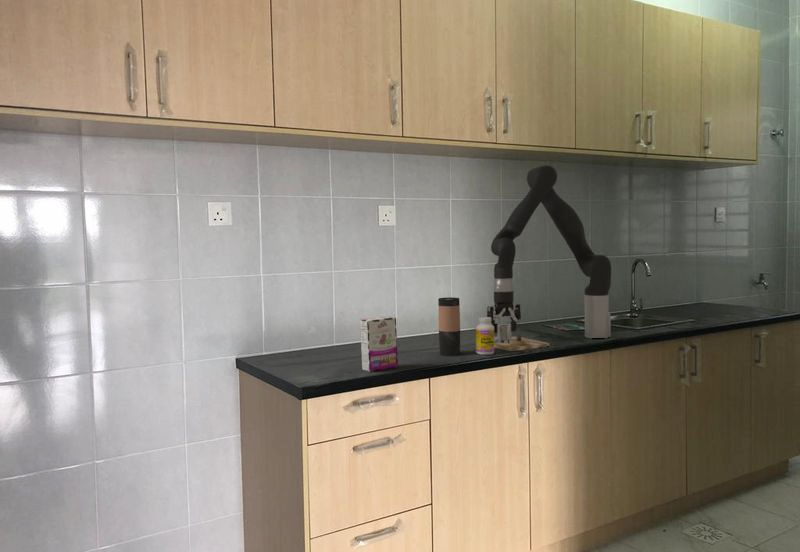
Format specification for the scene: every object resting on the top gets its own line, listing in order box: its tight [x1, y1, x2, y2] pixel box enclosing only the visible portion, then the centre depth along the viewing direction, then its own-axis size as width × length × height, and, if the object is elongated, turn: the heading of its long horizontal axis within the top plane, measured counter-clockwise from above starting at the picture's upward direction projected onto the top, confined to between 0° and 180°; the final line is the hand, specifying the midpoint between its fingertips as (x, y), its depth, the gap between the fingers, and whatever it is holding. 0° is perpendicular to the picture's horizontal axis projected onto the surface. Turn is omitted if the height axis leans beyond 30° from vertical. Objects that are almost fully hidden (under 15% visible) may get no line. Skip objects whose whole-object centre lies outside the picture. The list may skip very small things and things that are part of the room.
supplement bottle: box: [474, 316, 495, 356], centre depth 227 cm, size 7×7×13 cm
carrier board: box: [494, 334, 550, 352], centre depth 244 cm, size 18×21×6 cm
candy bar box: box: [359, 315, 399, 373], centre depth 205 cm, size 11×5×16 cm, turn 126°
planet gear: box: [494, 323, 517, 344], centre depth 245 cm, size 10×10×6 cm
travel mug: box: [437, 296, 461, 357], centre depth 227 cm, size 8×8×20 cm
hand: (504, 332), depth 245 cm, fingers open, 8 cm apart
